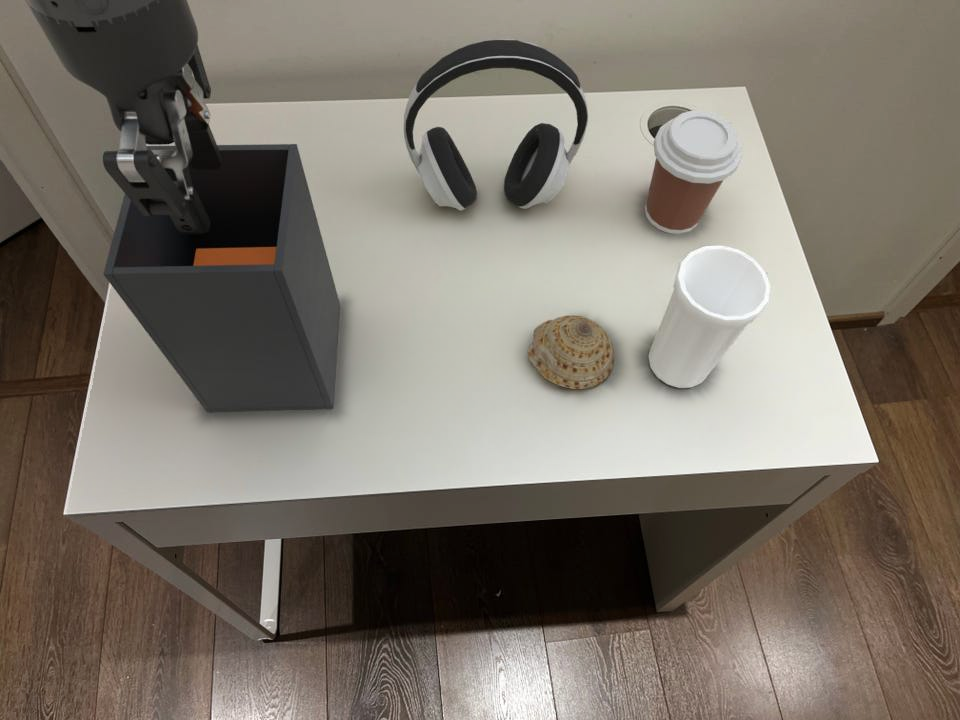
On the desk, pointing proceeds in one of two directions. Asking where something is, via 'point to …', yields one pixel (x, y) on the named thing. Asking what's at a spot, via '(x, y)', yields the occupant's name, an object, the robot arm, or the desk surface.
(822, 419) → the desk surface
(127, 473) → the desk surface
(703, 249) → the cup
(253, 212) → the wastebasket
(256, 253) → the block
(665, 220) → the coffee cup
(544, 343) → the seashell
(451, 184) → the headphones
